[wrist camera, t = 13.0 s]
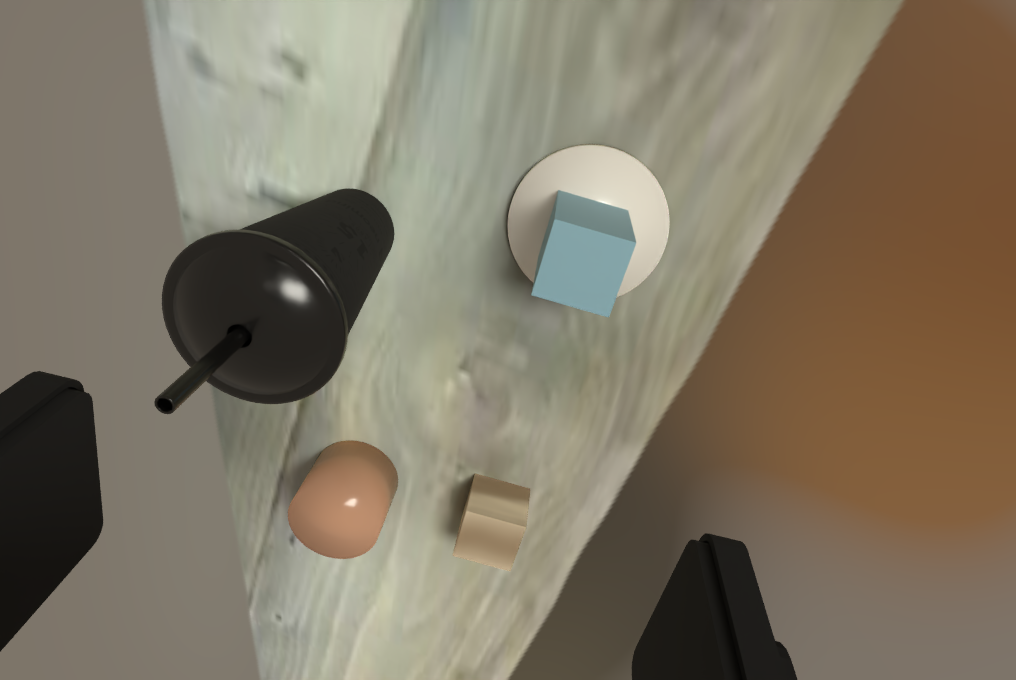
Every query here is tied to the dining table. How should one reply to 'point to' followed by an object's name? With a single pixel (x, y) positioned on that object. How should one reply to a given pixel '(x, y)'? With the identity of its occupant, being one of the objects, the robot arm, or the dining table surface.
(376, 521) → the peach cylinder
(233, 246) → the drinking cup
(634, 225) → the cream shiny round part
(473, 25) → the dining table surface
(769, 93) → the dining table surface
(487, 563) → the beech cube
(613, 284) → the teal block
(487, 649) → the dining table surface
